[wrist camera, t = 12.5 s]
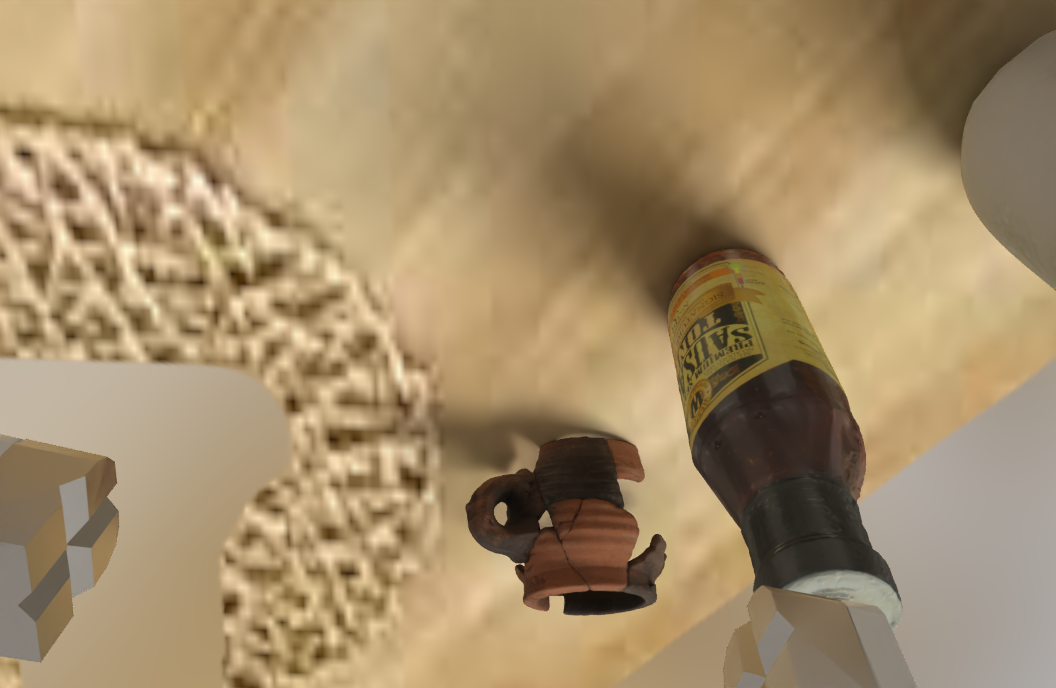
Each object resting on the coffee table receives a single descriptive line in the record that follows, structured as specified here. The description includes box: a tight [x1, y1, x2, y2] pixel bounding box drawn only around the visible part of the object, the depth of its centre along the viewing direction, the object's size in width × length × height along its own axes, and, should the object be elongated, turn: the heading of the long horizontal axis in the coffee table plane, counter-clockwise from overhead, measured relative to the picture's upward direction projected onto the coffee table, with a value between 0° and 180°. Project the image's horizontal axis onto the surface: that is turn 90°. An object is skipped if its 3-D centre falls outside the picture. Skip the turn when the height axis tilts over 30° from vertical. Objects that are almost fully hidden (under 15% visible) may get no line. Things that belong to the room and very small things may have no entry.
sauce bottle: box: [667, 248, 902, 631], centre depth 32 cm, size 6×6×20 cm
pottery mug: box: [466, 437, 667, 615], centre depth 45 cm, size 12×10×8 cm
